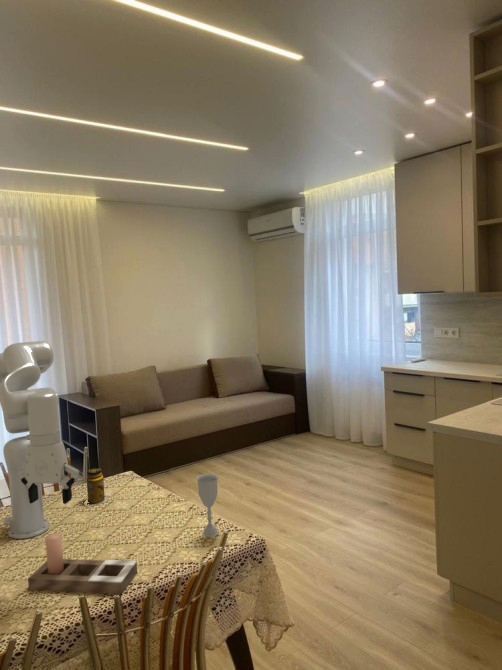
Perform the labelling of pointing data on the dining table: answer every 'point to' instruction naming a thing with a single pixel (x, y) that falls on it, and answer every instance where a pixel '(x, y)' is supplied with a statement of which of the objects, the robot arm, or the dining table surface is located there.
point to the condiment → (95, 487)
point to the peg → (54, 554)
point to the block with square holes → (96, 582)
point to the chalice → (208, 499)
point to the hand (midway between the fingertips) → (50, 501)
